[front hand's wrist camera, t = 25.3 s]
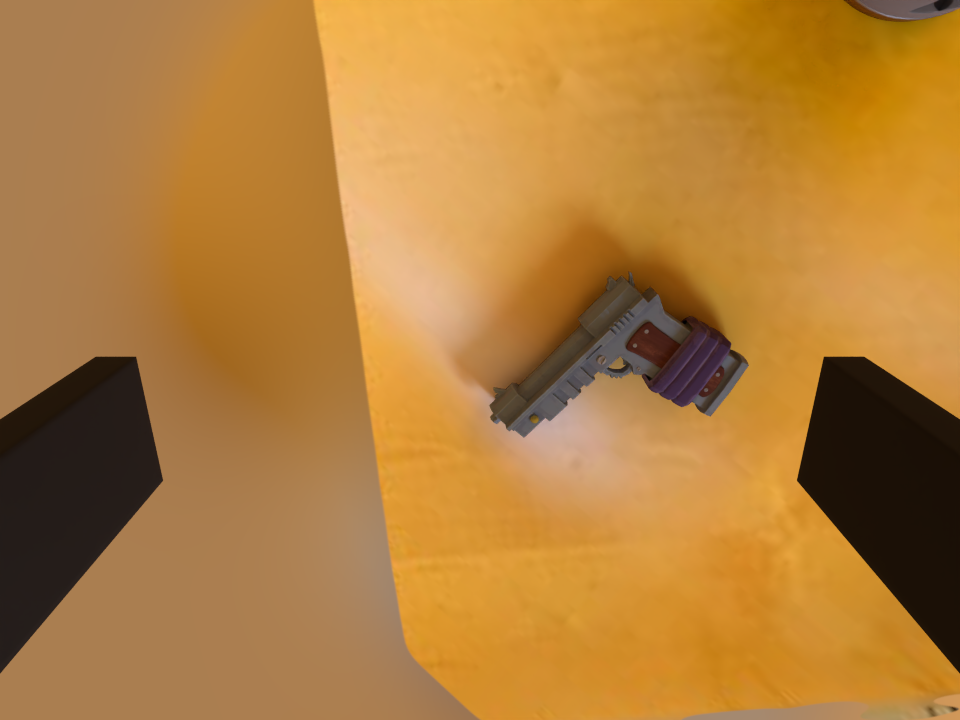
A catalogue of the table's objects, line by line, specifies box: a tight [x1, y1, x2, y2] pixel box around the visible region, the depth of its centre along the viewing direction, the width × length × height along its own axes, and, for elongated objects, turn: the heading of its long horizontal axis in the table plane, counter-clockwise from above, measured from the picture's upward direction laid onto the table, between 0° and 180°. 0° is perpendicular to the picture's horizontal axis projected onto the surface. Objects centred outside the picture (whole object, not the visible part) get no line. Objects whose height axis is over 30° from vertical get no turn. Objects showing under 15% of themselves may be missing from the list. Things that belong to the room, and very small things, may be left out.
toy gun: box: [489, 272, 749, 437], centre depth 54 cm, size 4×19×15 cm
